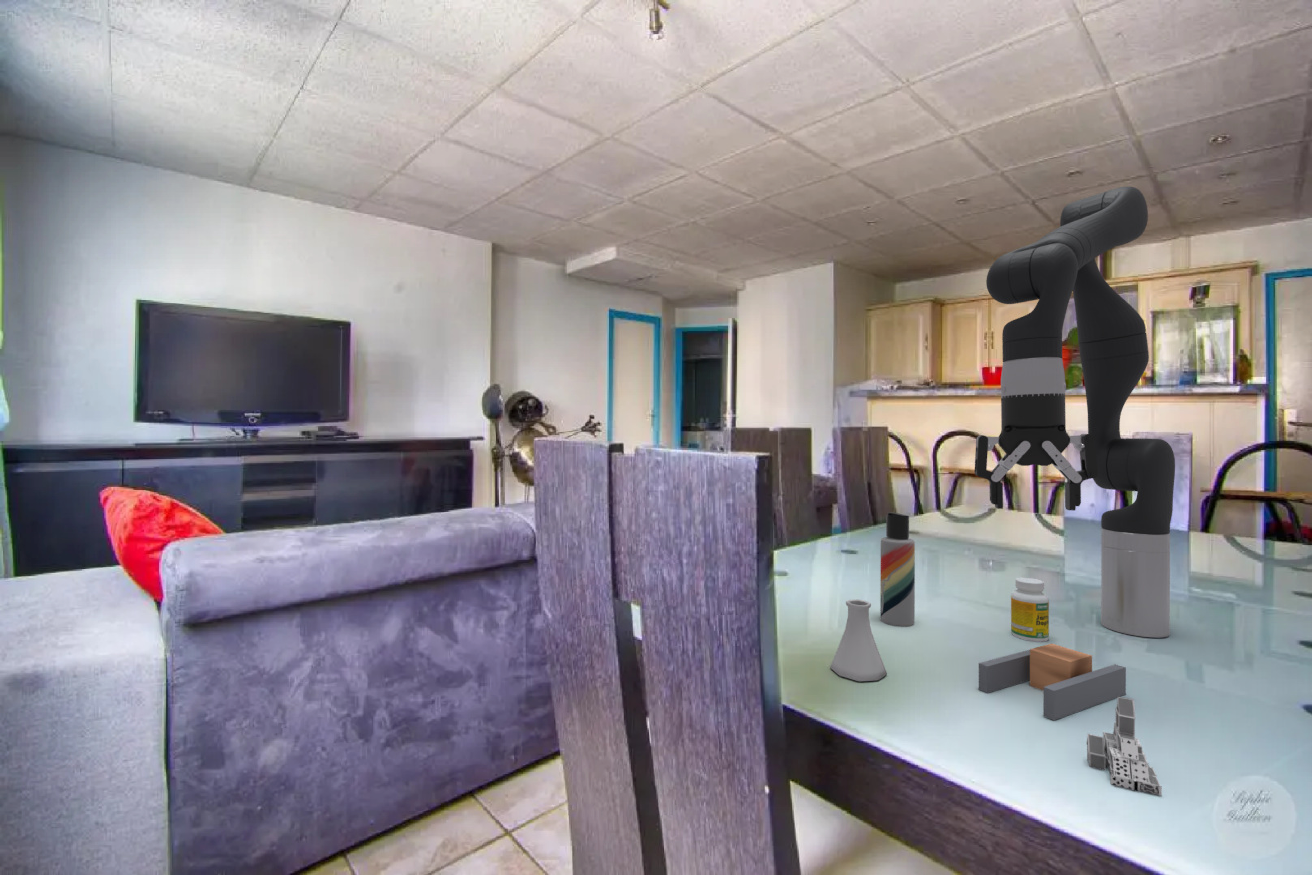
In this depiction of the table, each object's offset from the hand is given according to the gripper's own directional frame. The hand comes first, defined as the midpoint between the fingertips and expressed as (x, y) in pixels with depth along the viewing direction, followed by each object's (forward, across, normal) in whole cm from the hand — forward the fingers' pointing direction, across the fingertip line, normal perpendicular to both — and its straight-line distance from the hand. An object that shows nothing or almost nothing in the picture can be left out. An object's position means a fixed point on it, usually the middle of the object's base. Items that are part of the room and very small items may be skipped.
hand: (1033, 508), depth 81 cm
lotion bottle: (+24, +18, -18) cm, 34 cm away
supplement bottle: (+24, -3, -18) cm, 30 cm away
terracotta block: (+24, -2, +4) cm, 24 cm away
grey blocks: (+23, -1, +5) cm, 24 cm away
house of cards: (+24, -1, +23) cm, 33 cm away
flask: (+23, +23, +8) cm, 34 cm away
